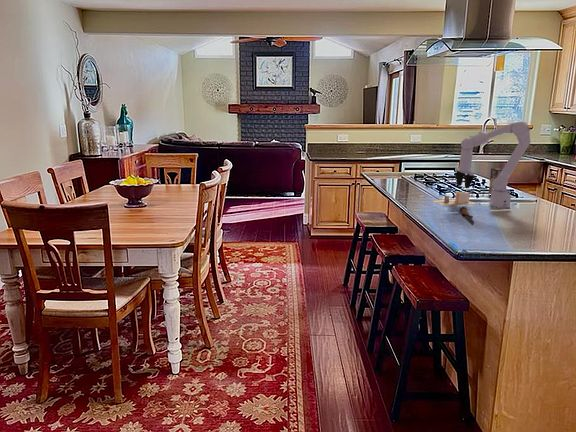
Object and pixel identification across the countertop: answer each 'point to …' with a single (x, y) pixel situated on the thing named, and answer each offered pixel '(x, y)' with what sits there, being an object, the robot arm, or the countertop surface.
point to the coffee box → (494, 176)
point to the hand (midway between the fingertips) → (463, 186)
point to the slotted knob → (462, 197)
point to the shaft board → (451, 202)
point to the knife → (466, 215)
